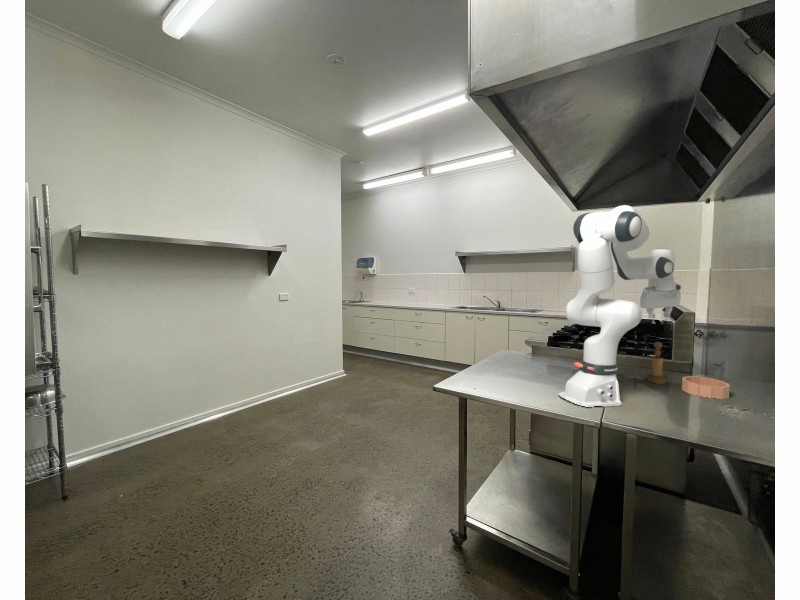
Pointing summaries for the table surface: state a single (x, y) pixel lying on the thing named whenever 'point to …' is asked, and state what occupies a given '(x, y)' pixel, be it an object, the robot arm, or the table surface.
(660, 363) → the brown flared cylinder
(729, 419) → the table surface
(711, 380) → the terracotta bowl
